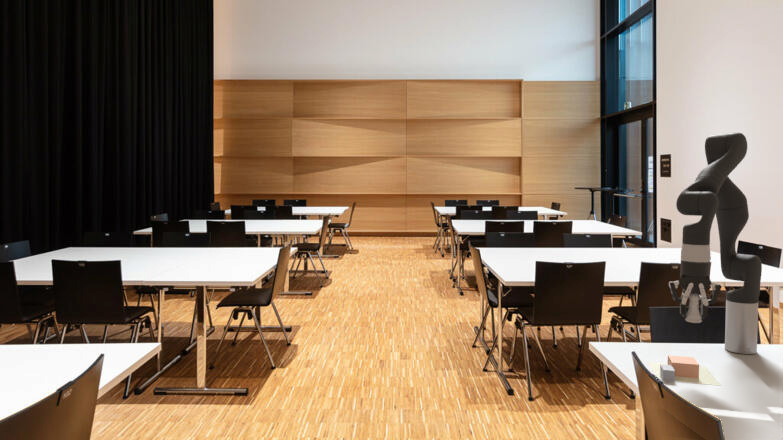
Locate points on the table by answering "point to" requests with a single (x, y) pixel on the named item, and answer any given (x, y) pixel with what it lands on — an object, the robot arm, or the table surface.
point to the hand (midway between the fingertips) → (693, 316)
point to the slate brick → (667, 372)
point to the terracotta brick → (684, 366)
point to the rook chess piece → (693, 309)
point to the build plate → (704, 377)
